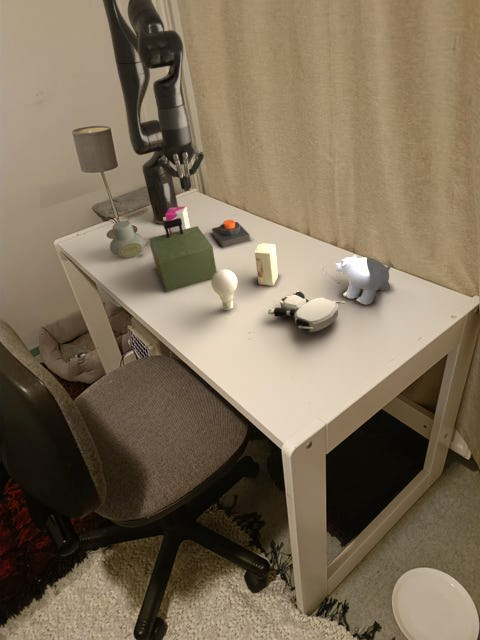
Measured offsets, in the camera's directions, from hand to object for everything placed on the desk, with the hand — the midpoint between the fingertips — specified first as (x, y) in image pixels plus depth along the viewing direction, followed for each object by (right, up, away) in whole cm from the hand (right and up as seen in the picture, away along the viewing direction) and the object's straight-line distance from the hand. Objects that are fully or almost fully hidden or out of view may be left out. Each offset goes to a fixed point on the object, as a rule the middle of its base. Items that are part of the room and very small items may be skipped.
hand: (186, 190), depth 123 cm
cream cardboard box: (+22, -26, -3) cm, 34 cm away
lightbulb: (+12, -34, -12) cm, 38 cm away
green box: (-1, -23, +5) cm, 23 cm away
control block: (+12, -10, +20) cm, 25 cm away
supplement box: (-4, -12, +20) cm, 24 cm away
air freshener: (-21, -15, +19) cm, 32 cm away
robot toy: (+30, -36, -18) cm, 51 cm away
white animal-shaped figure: (+46, -29, -11) cm, 55 cm away
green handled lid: (-2, -15, 0) cm, 16 cm away
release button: (+11, -7, +18) cm, 22 cm away
